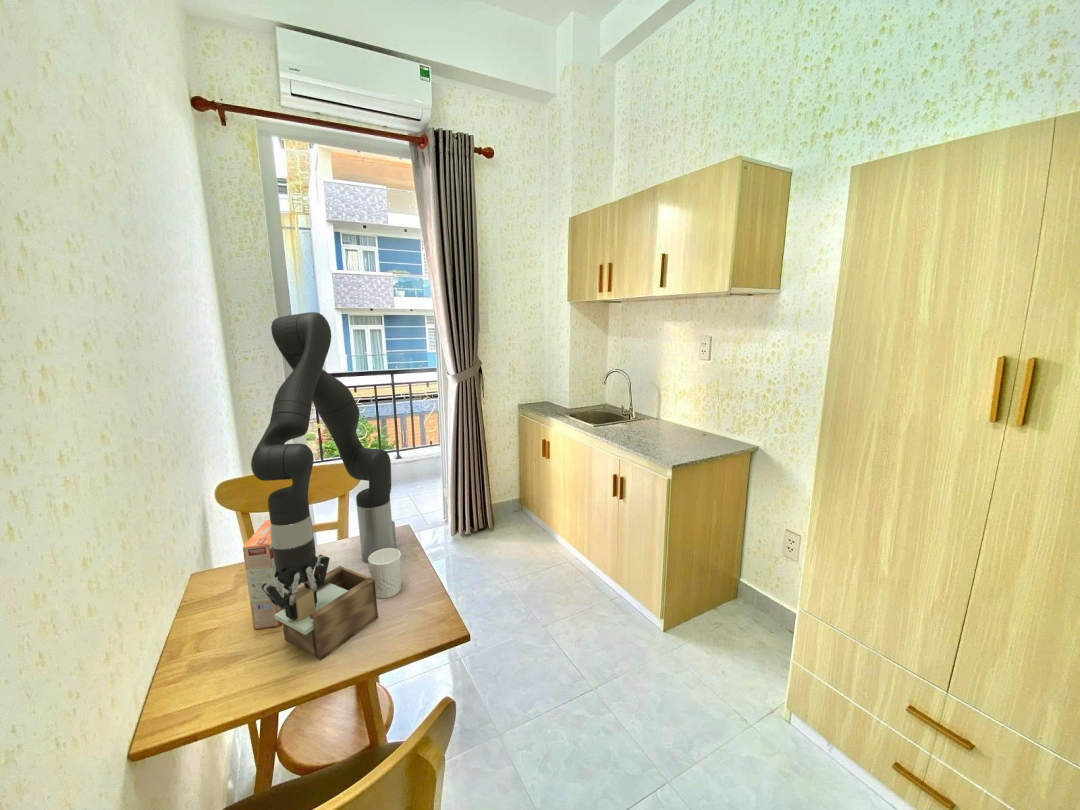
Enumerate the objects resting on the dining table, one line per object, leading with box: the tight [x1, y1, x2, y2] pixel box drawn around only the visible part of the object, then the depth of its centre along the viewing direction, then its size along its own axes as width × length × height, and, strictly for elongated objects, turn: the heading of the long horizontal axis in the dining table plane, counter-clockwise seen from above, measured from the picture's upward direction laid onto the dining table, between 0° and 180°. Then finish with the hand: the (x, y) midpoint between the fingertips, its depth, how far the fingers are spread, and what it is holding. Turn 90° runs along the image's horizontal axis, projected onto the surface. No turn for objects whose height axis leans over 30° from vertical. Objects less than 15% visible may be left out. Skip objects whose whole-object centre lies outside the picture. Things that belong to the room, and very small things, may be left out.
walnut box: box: [280, 565, 379, 661], centre depth 98 cm, size 15×12×10 cm
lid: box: [274, 583, 348, 635], centre depth 95 cm, size 13×10×6 cm
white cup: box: [368, 548, 402, 599], centre depth 112 cm, size 8×8×10 cm
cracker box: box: [242, 519, 283, 630], centre depth 104 cm, size 14×6×21 cm, turn 14°
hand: (302, 612), depth 92 cm, fingers closed on lid, 3 cm apart
